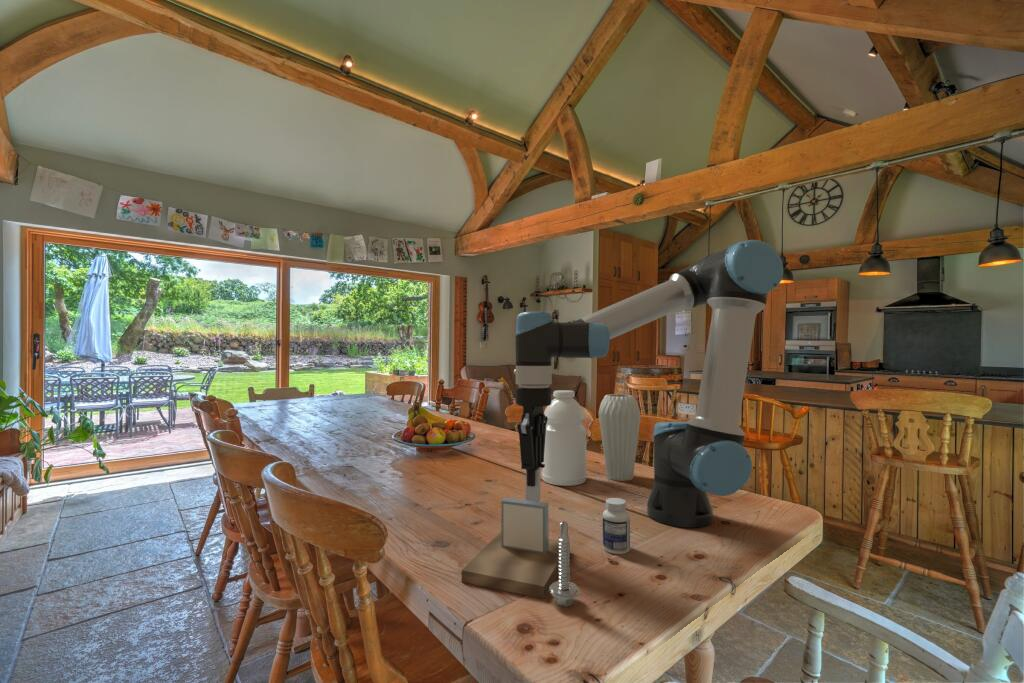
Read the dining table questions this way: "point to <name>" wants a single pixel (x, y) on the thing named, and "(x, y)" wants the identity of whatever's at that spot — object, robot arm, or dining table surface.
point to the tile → (524, 525)
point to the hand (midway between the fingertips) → (533, 500)
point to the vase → (619, 434)
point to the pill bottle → (616, 527)
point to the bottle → (564, 441)
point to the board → (513, 569)
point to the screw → (564, 572)
